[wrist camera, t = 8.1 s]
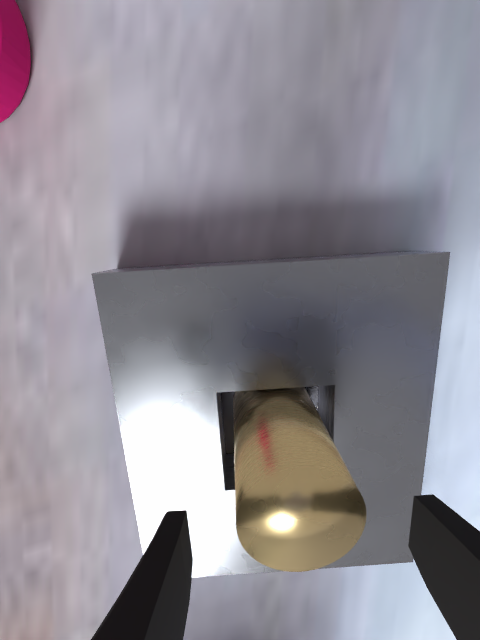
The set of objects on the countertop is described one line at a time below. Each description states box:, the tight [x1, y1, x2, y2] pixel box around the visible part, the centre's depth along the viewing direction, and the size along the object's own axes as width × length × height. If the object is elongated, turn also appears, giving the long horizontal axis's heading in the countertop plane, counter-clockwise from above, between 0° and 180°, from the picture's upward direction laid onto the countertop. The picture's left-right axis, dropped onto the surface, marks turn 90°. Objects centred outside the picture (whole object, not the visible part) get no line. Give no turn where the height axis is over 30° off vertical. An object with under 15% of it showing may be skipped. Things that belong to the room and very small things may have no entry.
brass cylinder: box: [233, 387, 366, 572], centre depth 12 cm, size 4×4×7 cm
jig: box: [92, 251, 450, 578], centre depth 15 cm, size 14×16×2 cm
